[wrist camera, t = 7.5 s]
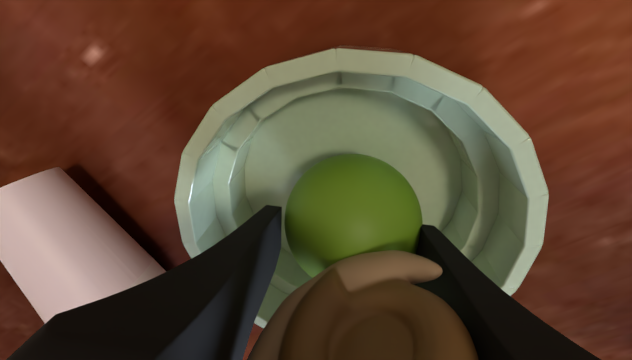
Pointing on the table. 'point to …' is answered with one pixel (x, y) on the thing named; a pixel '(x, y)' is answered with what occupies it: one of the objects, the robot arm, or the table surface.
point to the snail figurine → (360, 272)
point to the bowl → (373, 140)
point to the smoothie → (65, 245)
